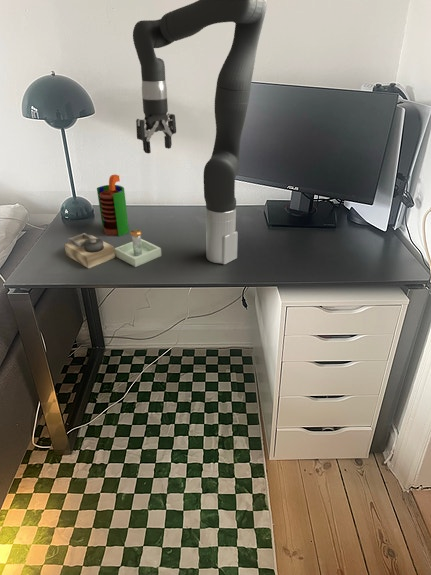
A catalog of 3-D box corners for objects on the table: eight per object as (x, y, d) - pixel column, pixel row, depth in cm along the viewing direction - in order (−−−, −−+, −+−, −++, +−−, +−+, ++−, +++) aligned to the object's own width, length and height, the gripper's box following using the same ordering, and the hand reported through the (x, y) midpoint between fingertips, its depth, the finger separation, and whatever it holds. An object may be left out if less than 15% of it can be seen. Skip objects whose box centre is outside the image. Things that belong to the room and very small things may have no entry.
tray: (161, 255, 148) (160, 248, 147) (135, 267, 142) (134, 259, 140) (141, 245, 154) (140, 238, 153) (115, 256, 148) (114, 248, 146)
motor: (97, 232, 164) (89, 178, 153) (112, 223, 171) (106, 171, 160) (119, 237, 160) (112, 182, 149) (134, 228, 167) (129, 175, 156)
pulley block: (115, 257, 147) (112, 238, 143) (88, 268, 141) (85, 248, 137) (91, 245, 155) (88, 226, 151) (65, 254, 149) (61, 235, 145)
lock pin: (145, 254, 148) (143, 231, 143) (137, 257, 146) (134, 235, 141) (139, 251, 150) (136, 228, 145) (130, 254, 148) (128, 232, 143)
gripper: (144, 100, 131) (148, 157, 139) (180, 95, 139) (182, 148, 148) (128, 97, 135) (133, 152, 143) (164, 92, 144) (167, 144, 152)
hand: (158, 150), depth 146 cm, fingers open, 8 cm apart
